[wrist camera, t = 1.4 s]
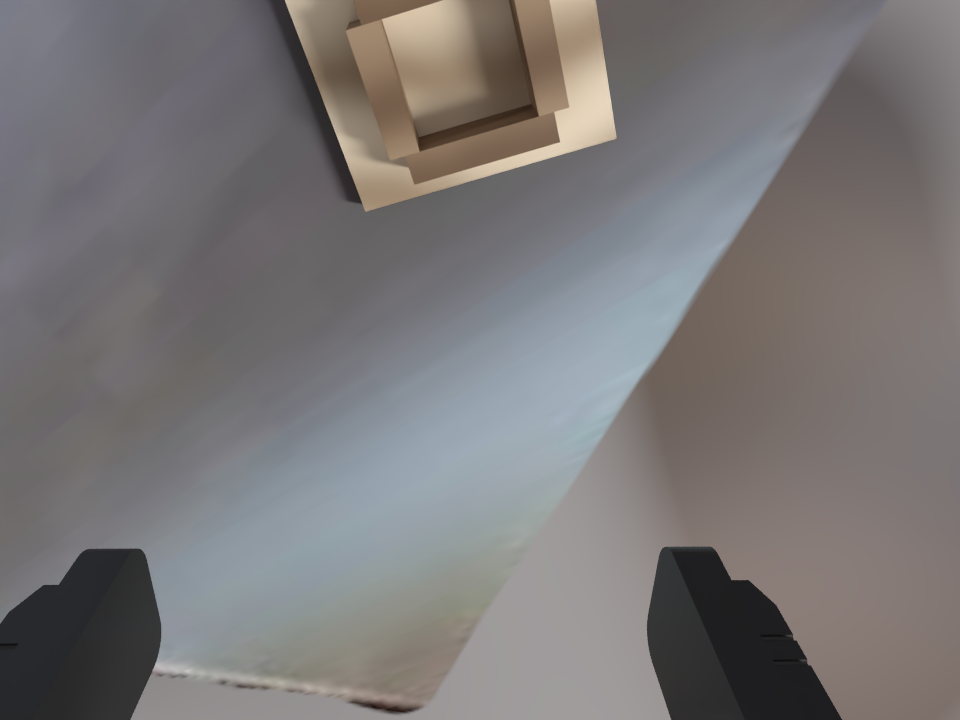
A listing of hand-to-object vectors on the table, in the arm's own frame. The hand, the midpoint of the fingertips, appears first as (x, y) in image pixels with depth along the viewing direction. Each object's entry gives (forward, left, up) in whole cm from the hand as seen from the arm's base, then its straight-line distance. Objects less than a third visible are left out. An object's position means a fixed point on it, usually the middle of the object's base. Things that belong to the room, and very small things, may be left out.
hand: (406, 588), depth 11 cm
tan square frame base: (-2, +3, -30) cm, 30 cm away
